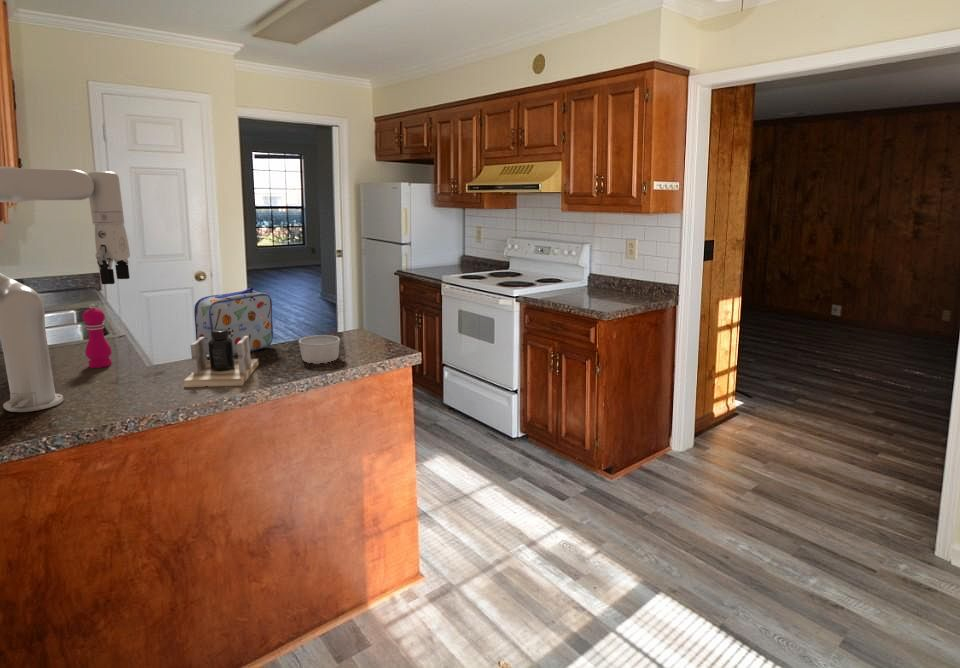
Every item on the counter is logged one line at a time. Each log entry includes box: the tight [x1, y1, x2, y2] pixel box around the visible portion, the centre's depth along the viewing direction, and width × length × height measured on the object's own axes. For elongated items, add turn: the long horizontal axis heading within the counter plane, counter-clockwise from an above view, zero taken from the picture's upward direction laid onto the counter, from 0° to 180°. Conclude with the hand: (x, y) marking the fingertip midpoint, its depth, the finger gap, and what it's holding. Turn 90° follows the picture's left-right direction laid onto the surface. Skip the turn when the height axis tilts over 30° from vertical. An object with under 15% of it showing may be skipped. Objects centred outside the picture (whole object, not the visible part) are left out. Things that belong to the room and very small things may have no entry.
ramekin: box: [298, 334, 341, 365], centre depth 211 cm, size 13×13×7 cm
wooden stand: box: [183, 336, 260, 388], centre depth 193 cm, size 22×16×11 cm
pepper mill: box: [82, 303, 113, 369], centre depth 202 cm, size 7×7×20 cm
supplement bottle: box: [208, 329, 235, 371], centre depth 192 cm, size 7×7×12 cm
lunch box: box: [193, 287, 274, 357], centre depth 218 cm, size 28×10×22 cm, turn 149°
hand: (116, 281), depth 177 cm, fingers open, 9 cm apart
